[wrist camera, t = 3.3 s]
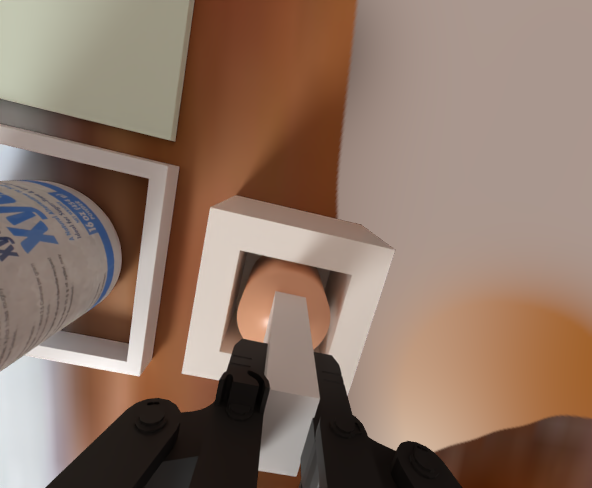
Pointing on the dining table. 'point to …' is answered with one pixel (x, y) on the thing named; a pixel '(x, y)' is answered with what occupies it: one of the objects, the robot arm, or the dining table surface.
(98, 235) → the supplement tub
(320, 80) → the dining table surface
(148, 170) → the frame
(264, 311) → the button
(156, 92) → the mat
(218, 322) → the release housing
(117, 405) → the dining table surface
